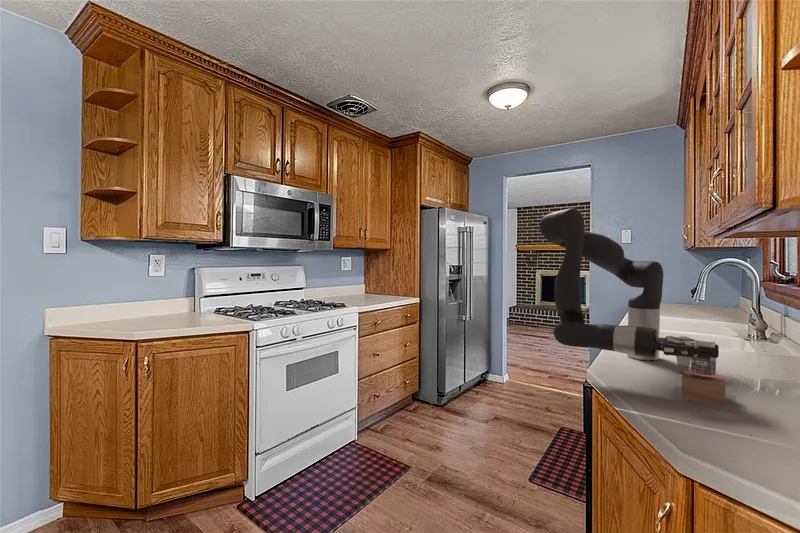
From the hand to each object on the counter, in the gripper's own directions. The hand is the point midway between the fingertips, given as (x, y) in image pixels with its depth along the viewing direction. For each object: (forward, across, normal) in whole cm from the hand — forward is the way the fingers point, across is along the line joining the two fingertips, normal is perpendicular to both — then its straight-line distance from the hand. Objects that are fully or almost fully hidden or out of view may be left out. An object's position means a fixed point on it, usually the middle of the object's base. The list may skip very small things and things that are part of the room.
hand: (718, 351), depth 92 cm
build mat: (-2, 0, +12) cm, 12 cm away
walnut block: (-2, 0, +12) cm, 12 cm away
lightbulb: (-7, +24, +12) cm, 28 cm away
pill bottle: (-3, 0, +6) cm, 7 cm away
